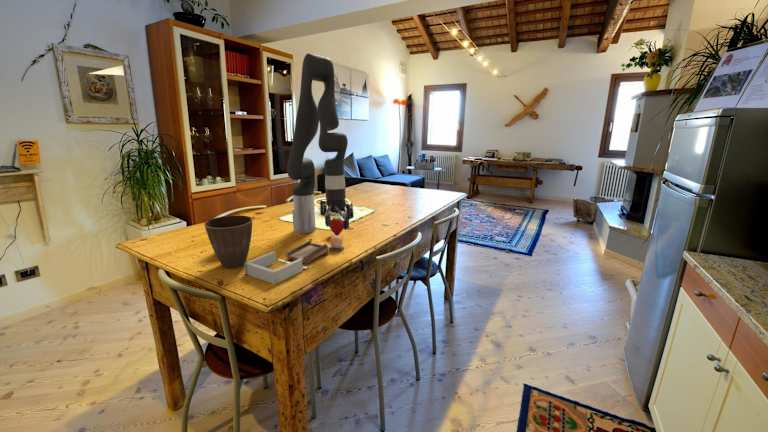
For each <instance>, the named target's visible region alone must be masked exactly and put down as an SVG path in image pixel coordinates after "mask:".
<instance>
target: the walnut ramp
mask: <svg viewBox="0 0 768 432" xmlns="http://www.w3.org/2000/svg"><path fill="white" fill-rule="evenodd" d="M321 255H325V256H328V255H329V246H328V244H327V243H324V244H321V243H316V242H312V240H311V239H309V240H307V241H305V242H303V243H301V244H300V245H298V246H296V247H294V248H291V250H288V251H287V252H286V254H285V258H286V259H288V260H293V261H296V260H298V259H302V264H306V265H307V264H308V263H310V262H312V261H314V260H315V259H317V258H318V257H320V256H321Z"/></svg>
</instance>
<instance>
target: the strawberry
mask: <svg viewBox="0 0 768 432" xmlns="http://www.w3.org/2000/svg"><path fill="white" fill-rule="evenodd" d="M338 215H339V214H337V217H336V216H335V217H334V216H333V217H332V218H331V226H329V229H330V230H331V232H333V234H334V236H339V235H340V234H341V233H342V232H343V231H344V227H343V220H344V219H343V218H342V217H341V216H338Z"/></svg>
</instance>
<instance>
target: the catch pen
mask: <svg viewBox="0 0 768 432" xmlns="http://www.w3.org/2000/svg"><path fill="white" fill-rule="evenodd" d="M290 262H291V263H289V264H288V263H286V264H285V265H283V266H281V267H279V268H277V269H271V268H268V267H270V266H271V265H274V264H277V254H276V251H270V252H268V253H265V254H263V255H261V256H258V257H256V258H253V259H251V260H248V261H246V262H245V263H244V265H243V266H244V272H245V273H244V274H245V275H247V276H249V277H253V278H255V279H259V280H261V281H265V282H267V283H269V284H273V285H277V284H278V283H281V282H283V281H284V280H287V279H289V278H290V277H292V276H294V275H295V276H296V275H297V274H299V273H301V272H302V271H303V270H304V268H302V266H303V263H302V259H298V260H296V261H295V260H293V261H290Z"/></svg>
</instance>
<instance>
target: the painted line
mask: <svg viewBox="0 0 768 432" xmlns="http://www.w3.org/2000/svg"><path fill="white" fill-rule="evenodd" d="M277 261H278V262H282V263H285V264H289V263H291V262H292V261H288V260H284V259H281V258H277ZM302 268H303V269H305V270H306V269H308V268H309V267H308V266H304V265H302Z"/></svg>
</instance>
